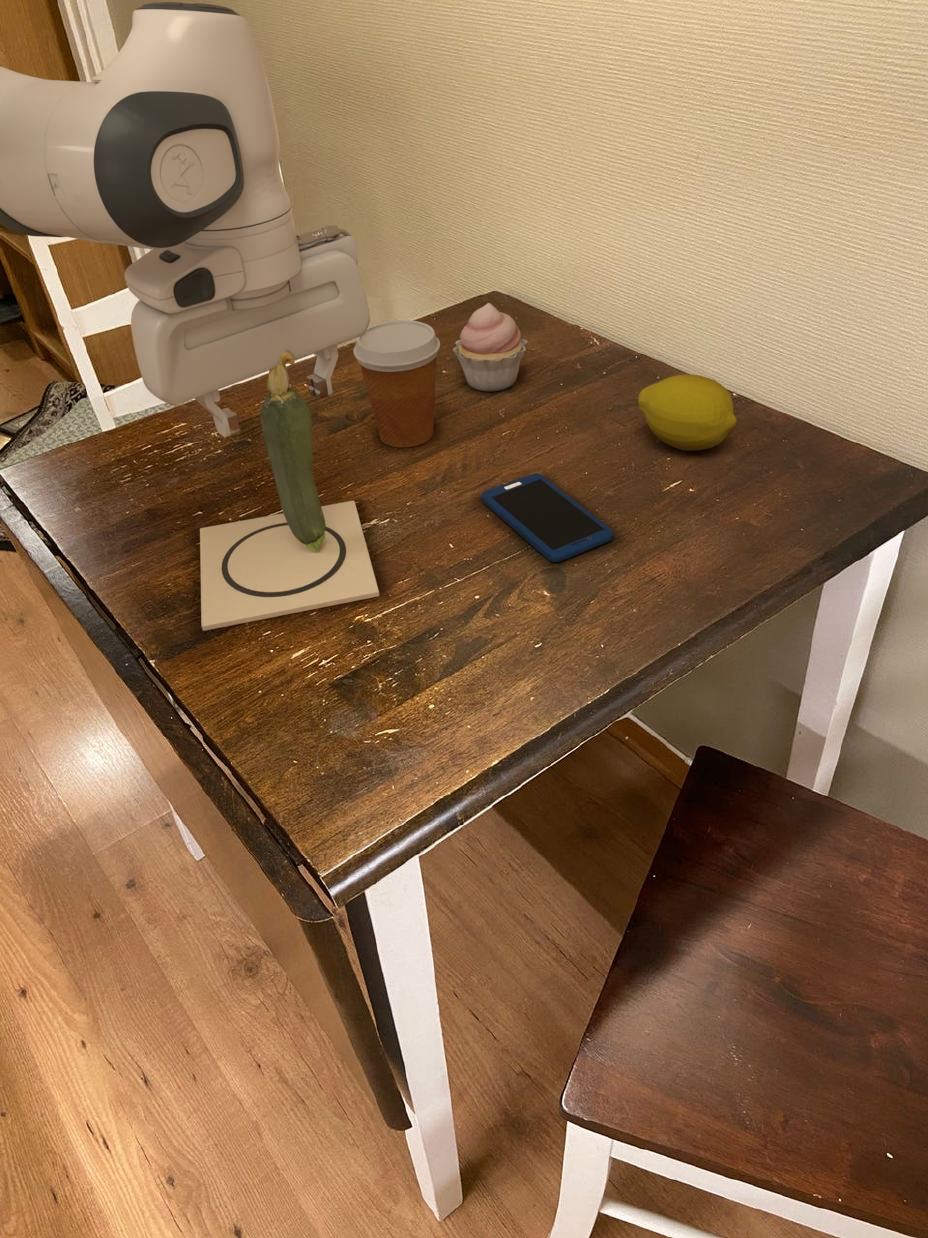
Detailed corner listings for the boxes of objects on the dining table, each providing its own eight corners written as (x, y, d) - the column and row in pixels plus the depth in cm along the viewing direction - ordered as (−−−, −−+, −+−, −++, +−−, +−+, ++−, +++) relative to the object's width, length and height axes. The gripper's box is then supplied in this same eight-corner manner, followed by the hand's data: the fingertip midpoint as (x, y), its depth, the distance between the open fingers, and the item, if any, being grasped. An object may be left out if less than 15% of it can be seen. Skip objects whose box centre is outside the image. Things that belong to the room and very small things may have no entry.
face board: (203, 631, 78) (200, 625, 78) (201, 532, 90) (199, 526, 90) (379, 596, 81) (378, 590, 80) (355, 504, 93) (354, 498, 92)
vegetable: (281, 552, 86) (233, 356, 73) (304, 528, 88) (262, 335, 76) (321, 561, 84) (279, 362, 71) (342, 536, 87) (306, 340, 74)
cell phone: (537, 476, 94) (536, 470, 94) (617, 539, 85) (617, 532, 84) (478, 498, 92) (477, 492, 91) (554, 565, 82) (554, 559, 82)
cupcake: (538, 369, 114) (537, 292, 108) (513, 401, 108) (511, 322, 101) (471, 361, 117) (467, 286, 111) (444, 392, 111) (437, 314, 104)
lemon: (746, 444, 97) (757, 376, 92) (710, 475, 93) (720, 405, 87) (661, 417, 103) (666, 352, 98) (623, 445, 98) (627, 378, 93)
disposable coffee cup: (351, 447, 102) (335, 348, 94) (389, 410, 108) (377, 314, 101) (425, 460, 99) (415, 358, 91) (460, 421, 105) (453, 323, 97)
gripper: (330, 211, 75) (352, 364, 84) (103, 278, 66) (155, 442, 75) (373, 226, 72) (392, 385, 81) (138, 298, 62) (189, 469, 71)
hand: (276, 413), depth 78 cm, fingers open, 8 cm apart
